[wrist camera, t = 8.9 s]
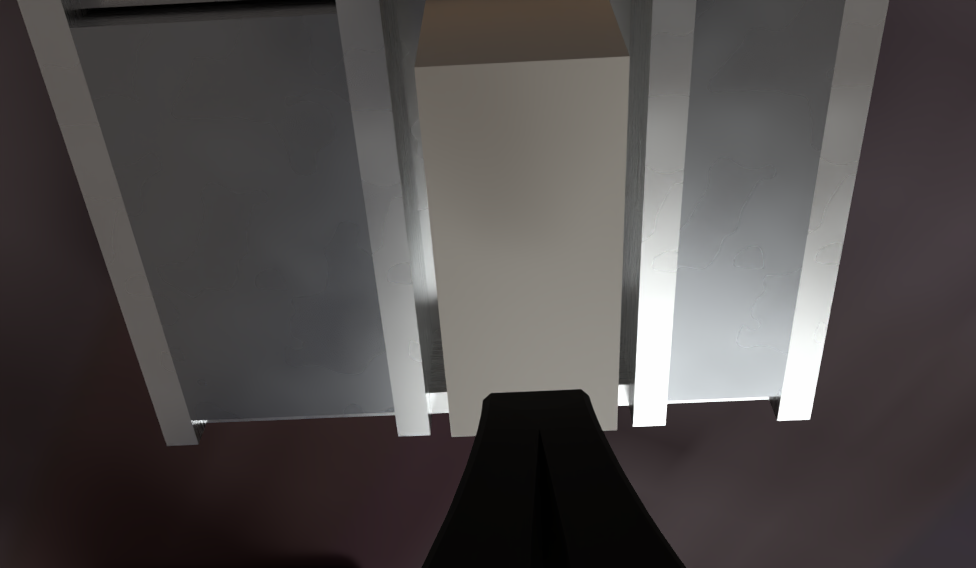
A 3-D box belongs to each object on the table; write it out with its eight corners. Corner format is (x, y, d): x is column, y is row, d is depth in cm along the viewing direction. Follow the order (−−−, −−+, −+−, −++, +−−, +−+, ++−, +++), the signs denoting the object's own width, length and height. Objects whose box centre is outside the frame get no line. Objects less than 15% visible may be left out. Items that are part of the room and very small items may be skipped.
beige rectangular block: (590, 277, 21) (616, 430, 17) (457, 283, 21) (451, 437, 17) (594, -41, 17) (630, 56, 13) (431, -32, 17) (414, 67, 13)
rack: (772, 332, 23) (810, 419, 20) (202, 357, 23) (166, 446, 20) (837, -105, 17) (900, -63, 14) (82, -63, 17) (12, -14, 15)
